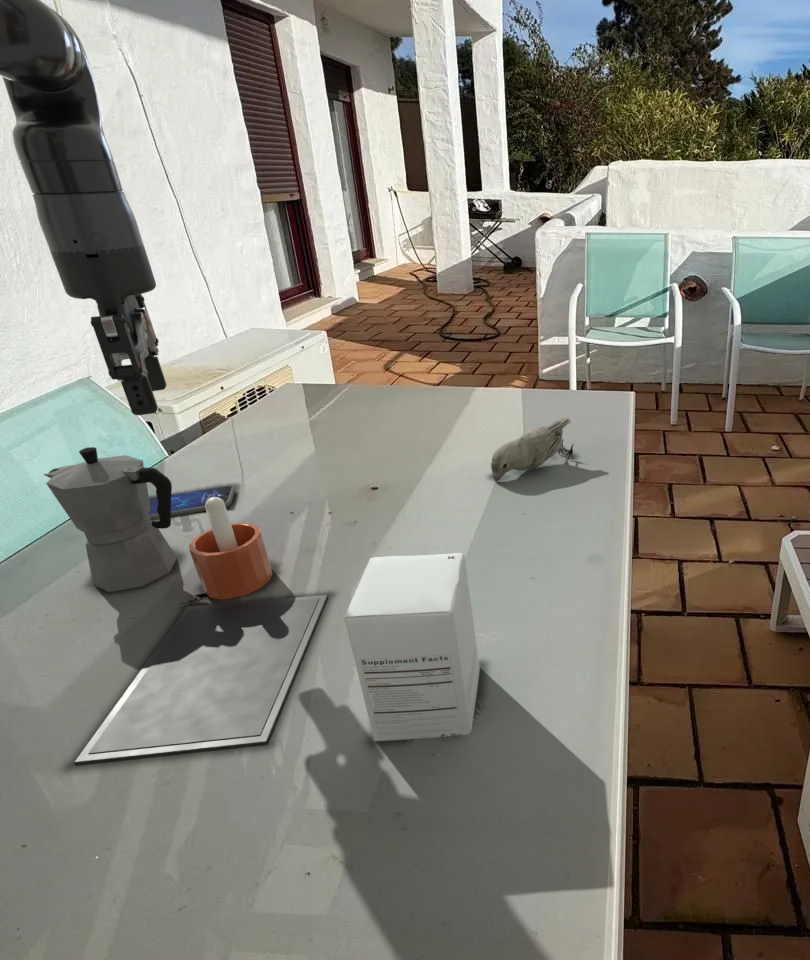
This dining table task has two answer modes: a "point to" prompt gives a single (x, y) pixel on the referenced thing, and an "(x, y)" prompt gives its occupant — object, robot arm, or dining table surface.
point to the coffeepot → (117, 517)
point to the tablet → (211, 681)
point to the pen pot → (231, 562)
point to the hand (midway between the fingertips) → (151, 401)
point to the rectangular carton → (415, 646)
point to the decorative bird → (530, 449)
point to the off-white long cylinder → (220, 524)
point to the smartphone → (193, 501)
